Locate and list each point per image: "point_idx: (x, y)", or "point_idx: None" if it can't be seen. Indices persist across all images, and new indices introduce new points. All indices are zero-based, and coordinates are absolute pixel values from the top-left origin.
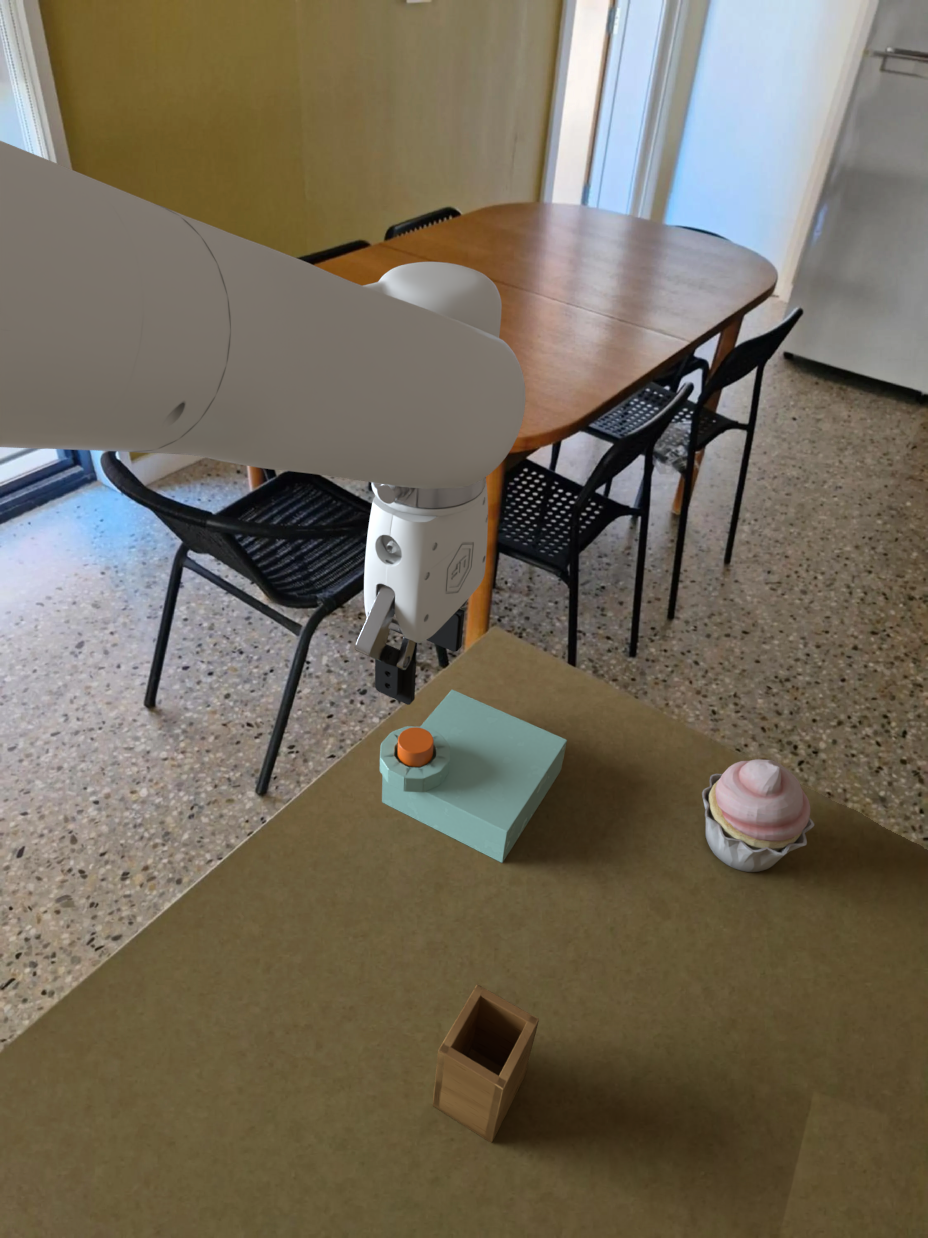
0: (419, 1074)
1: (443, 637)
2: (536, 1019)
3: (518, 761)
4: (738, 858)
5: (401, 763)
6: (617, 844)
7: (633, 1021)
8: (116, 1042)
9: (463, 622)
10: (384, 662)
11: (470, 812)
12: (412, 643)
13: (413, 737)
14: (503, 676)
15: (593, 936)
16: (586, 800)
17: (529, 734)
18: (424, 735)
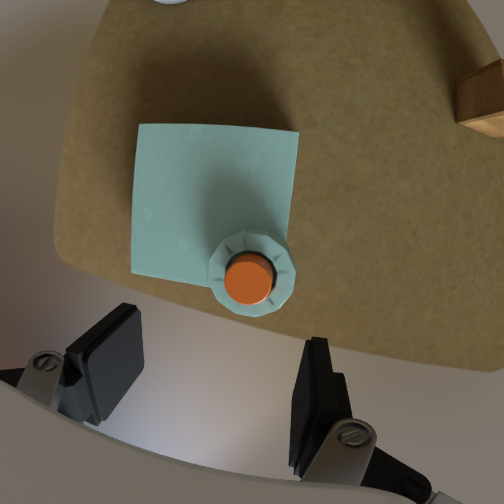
0: (482, 152)
1: (130, 345)
2: (502, 60)
3: (192, 158)
4: None
5: None
6: (224, 52)
7: (383, 15)
8: (496, 337)
9: (86, 332)
10: (426, 478)
11: (290, 181)
12: (329, 474)
13: (244, 287)
14: (83, 232)
15: (332, 46)
16: (185, 94)
17: (149, 164)
18: (234, 276)
